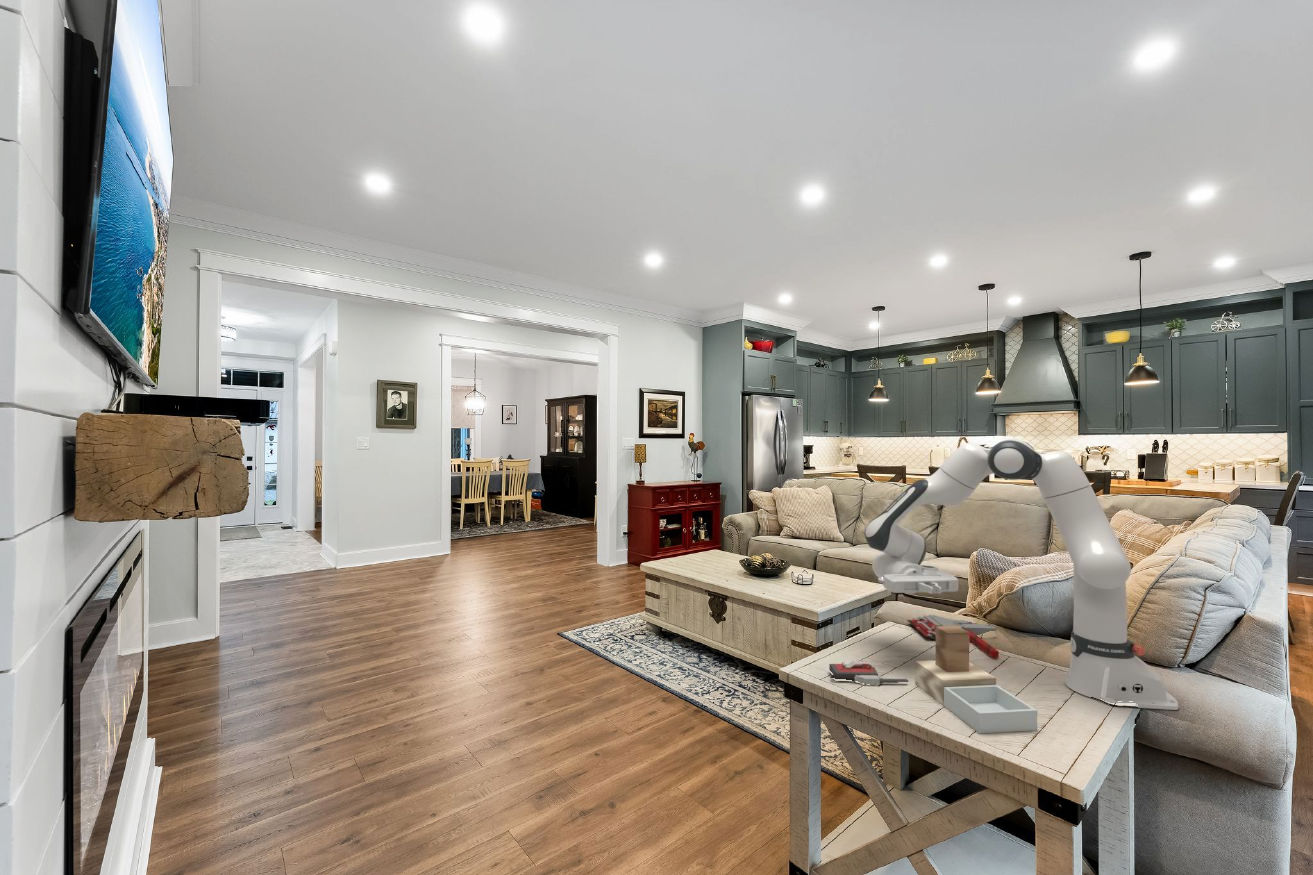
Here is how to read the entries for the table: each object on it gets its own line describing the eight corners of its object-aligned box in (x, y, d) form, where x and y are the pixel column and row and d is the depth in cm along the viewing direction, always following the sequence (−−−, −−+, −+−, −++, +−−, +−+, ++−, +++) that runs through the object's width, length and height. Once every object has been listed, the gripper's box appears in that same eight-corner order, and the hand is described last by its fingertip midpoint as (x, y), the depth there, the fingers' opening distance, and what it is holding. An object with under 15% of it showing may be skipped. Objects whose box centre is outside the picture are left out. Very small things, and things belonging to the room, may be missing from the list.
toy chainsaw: (833, 686, 151) (909, 687, 150) (833, 670, 151) (910, 671, 150) (824, 672, 159) (896, 673, 159) (824, 657, 159) (896, 657, 159)
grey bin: (943, 705, 140) (943, 687, 140) (996, 702, 141) (996, 684, 141) (979, 733, 127) (979, 713, 127) (1037, 730, 128) (1037, 710, 128)
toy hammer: (945, 646, 170) (907, 614, 199) (944, 659, 170) (906, 625, 200) (1028, 649, 168) (977, 616, 198) (1028, 661, 168) (977, 627, 198)
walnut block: (935, 664, 150) (935, 626, 150) (956, 663, 151) (957, 625, 150) (947, 672, 145) (947, 633, 145) (969, 671, 146) (969, 632, 146)
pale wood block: (915, 683, 152) (915, 661, 152) (964, 681, 154) (964, 659, 154) (942, 704, 140) (943, 680, 140) (995, 702, 142) (996, 678, 142)
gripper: (875, 567, 167) (900, 580, 153) (940, 566, 169) (971, 578, 156) (874, 589, 167) (900, 603, 154) (940, 587, 170) (970, 601, 156)
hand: (936, 590), depth 155 cm, fingers closed
